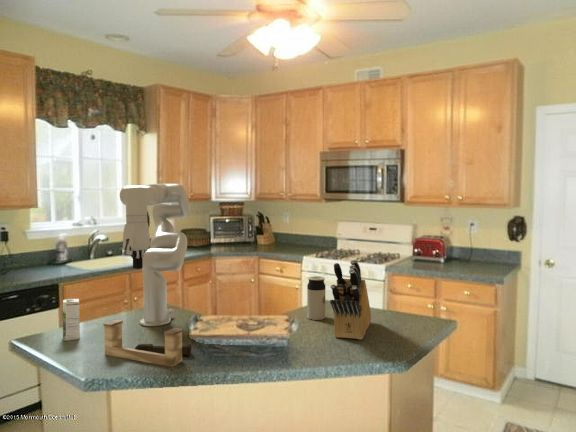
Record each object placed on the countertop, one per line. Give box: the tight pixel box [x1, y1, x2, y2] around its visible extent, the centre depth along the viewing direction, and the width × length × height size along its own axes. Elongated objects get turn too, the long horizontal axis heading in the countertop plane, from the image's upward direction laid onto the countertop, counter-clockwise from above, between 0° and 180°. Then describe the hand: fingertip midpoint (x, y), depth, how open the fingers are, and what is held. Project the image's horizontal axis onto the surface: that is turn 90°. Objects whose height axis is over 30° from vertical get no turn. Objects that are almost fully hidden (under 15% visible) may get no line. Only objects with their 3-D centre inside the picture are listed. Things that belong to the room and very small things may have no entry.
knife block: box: [329, 259, 372, 340], centre depth 178 cm, size 11×35×31 cm, turn 162°
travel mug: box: [306, 275, 326, 321], centre depth 199 cm, size 8×8×18 cm
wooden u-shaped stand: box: [103, 319, 184, 368], centre depth 151 cm, size 5×28×11 cm, turn 68°
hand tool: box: [134, 343, 192, 357], centre depth 153 cm, size 19×4×5 cm, turn 95°
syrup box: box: [62, 298, 81, 342], centre depth 171 cm, size 6×6×14 cm
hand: (137, 268), depth 169 cm, fingers closed
